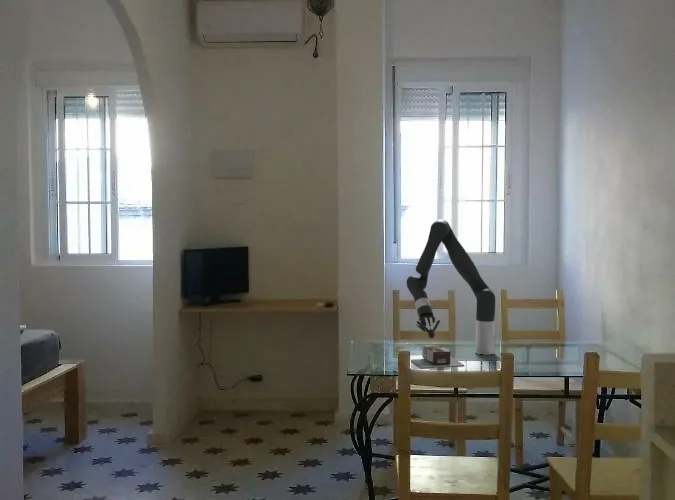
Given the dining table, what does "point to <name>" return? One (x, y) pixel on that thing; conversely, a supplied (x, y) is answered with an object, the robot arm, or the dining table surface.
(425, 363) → the mat
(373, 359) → the dining table surface
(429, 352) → the coffee box
